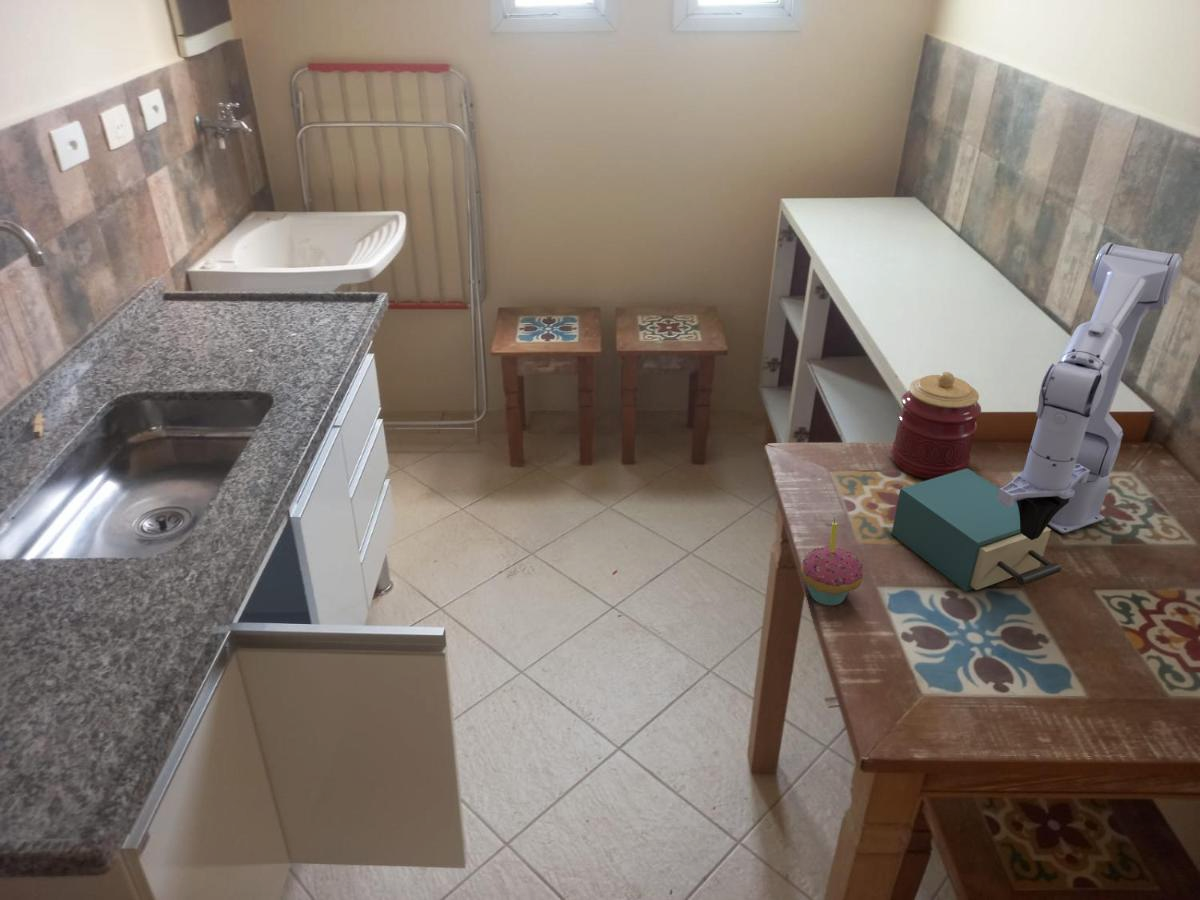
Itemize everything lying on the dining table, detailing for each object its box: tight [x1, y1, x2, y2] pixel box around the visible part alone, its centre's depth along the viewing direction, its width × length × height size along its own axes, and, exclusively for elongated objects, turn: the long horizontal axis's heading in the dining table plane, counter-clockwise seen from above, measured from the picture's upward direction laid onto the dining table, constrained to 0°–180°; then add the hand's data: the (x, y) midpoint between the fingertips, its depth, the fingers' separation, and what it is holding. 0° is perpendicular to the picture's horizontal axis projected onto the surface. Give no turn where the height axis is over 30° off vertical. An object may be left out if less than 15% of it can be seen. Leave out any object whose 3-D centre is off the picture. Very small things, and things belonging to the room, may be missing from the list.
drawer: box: [970, 526, 1062, 591], centre depth 129 cm, size 19×12×7 cm, turn 25°
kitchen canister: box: [891, 371, 982, 480], centre depth 152 cm, size 13×13×18 cm
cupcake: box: [800, 517, 865, 606], centre depth 122 cm, size 9×8×12 cm
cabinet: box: [891, 467, 1020, 592], centre depth 132 cm, size 16×14×9 cm
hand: (1029, 535), depth 121 cm, fingers closed
